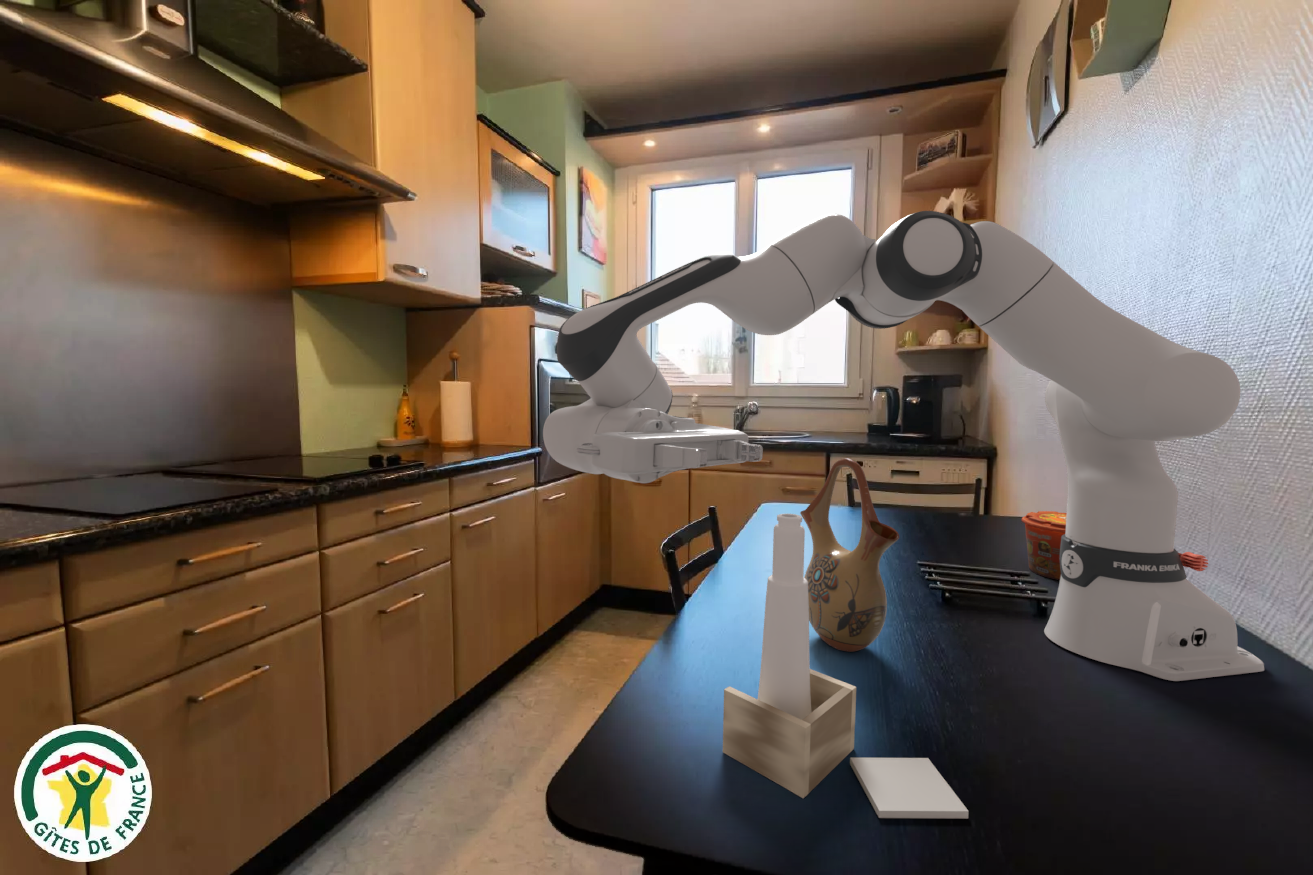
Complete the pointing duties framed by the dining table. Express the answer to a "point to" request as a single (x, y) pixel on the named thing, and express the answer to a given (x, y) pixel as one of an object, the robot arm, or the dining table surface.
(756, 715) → the beech cradle
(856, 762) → the stone coaster
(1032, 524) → the food container
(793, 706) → the cosmetic bottle
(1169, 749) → the dining table surface
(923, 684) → the dining table surface
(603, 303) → the robot arm
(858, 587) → the ceramic vessel
